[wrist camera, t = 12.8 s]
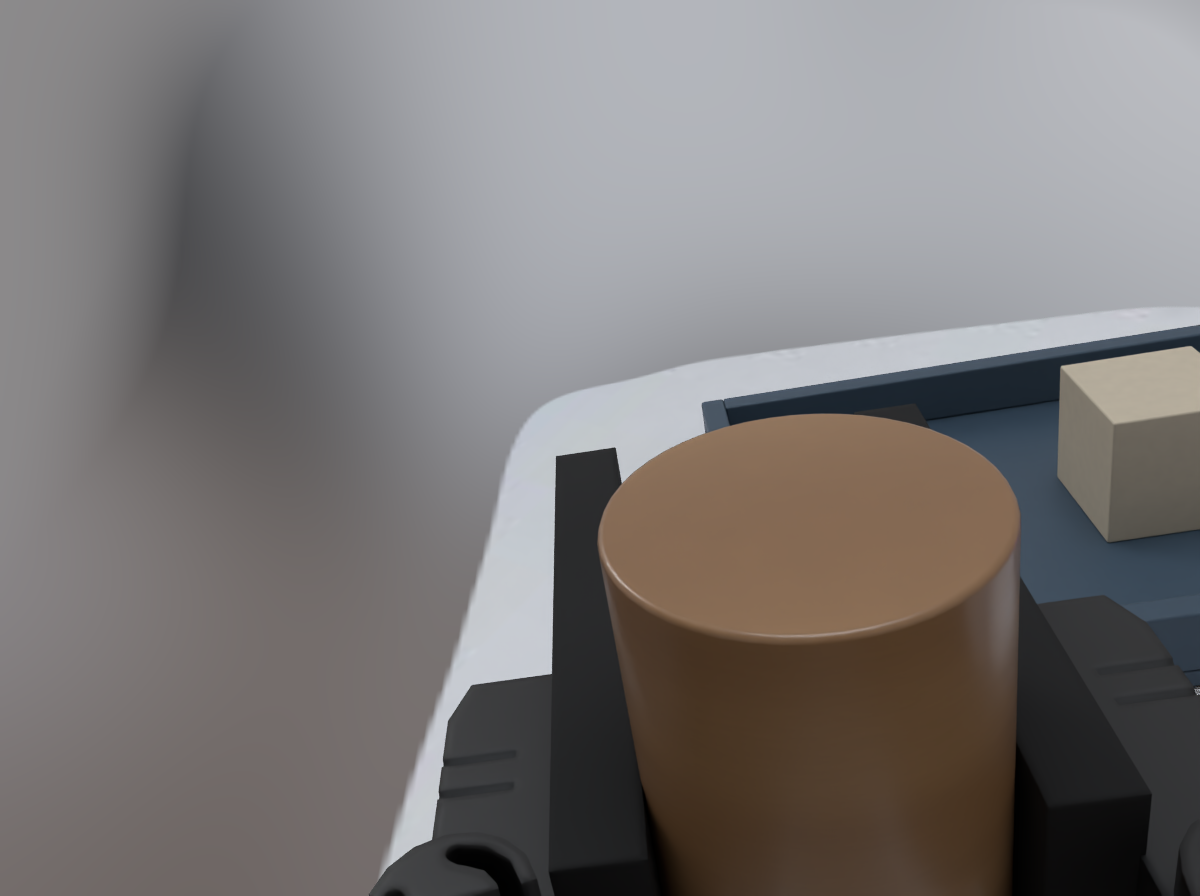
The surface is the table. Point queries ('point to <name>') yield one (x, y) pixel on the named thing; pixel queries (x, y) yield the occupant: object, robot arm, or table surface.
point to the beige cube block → (1133, 442)
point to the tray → (1029, 473)
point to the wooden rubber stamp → (820, 658)
